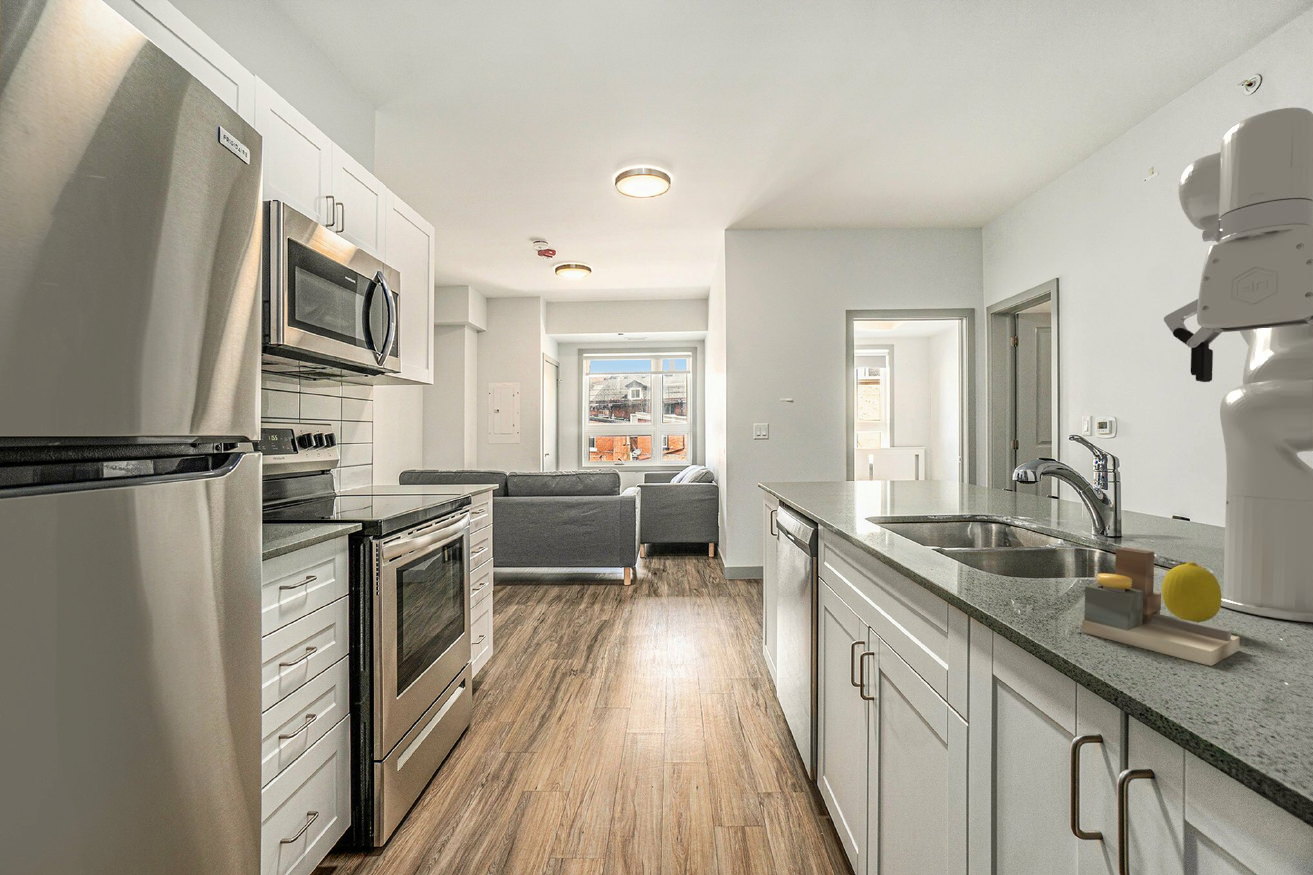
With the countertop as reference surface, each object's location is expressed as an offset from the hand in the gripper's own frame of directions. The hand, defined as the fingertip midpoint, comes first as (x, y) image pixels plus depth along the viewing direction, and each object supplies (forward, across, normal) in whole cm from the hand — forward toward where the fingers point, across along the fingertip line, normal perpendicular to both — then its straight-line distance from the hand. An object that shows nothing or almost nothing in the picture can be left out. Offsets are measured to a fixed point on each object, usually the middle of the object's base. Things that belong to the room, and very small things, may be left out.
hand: (1259, 378), depth 67 cm
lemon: (+31, -6, +2) cm, 31 cm away
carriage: (+28, -9, -7) cm, 31 cm away
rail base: (+30, -6, -9) cm, 32 cm away
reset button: (+28, -9, -11) cm, 32 cm away
